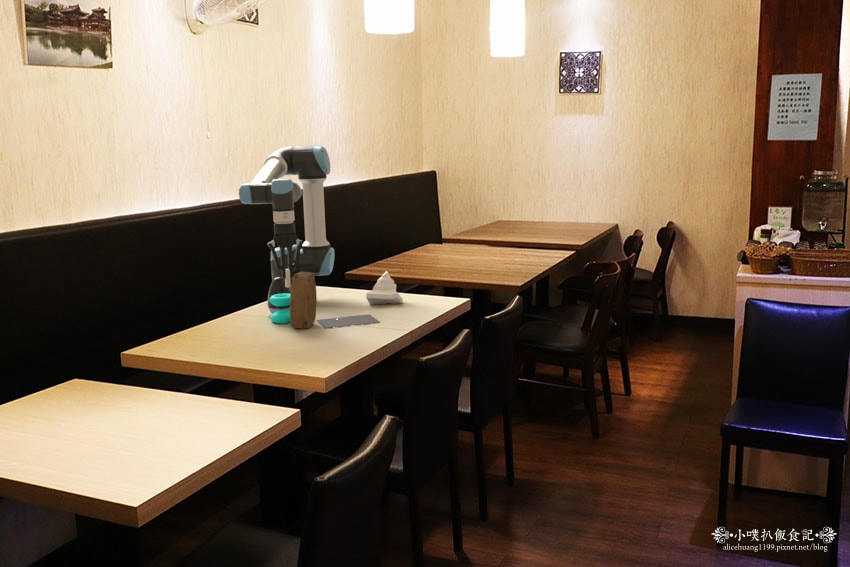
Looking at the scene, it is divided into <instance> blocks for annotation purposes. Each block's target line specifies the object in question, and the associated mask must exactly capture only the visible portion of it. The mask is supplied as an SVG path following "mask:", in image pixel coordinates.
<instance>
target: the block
mask: <svg viewBox="0 0 850 567" xmlns="http://www.w3.org/2000/svg"><path fill="white" fill-rule="evenodd" d="M317 298H318V297H317V285H316V279H315V276H314V273H312V272H299V273H296V274H294V275H293V276H292V285H291V294H290V323H289V324H290V326H291V327H293V328H295V329H303V330H304V329H310V328H312V327H313V326H314V323H315V320H316V316H317V301H318V300H317Z"/></svg>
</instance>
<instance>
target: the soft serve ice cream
mask: <svg viewBox="0 0 850 567" xmlns="http://www.w3.org/2000/svg"><path fill="white" fill-rule="evenodd" d="M376 281H377V282H376V283H375V285H373V287H372V289H371V290H370V291H368V292H366V294H365V295H366V297H365V298H366V300H367V302H368V304H369V305H370V304H371V305H387V304H386V303H395V304H403V301H404V300H403V299H404V298H403V297H402V296H401V295H400V293H399V292H397V284H396V283H395V280H394V279H393V278H391V275H390V274H389V272H388V271H387V270H386V271H385V272H384V273H383V274H382V275H381V276H380V277H379V278H378V279H377V280H376Z"/></svg>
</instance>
